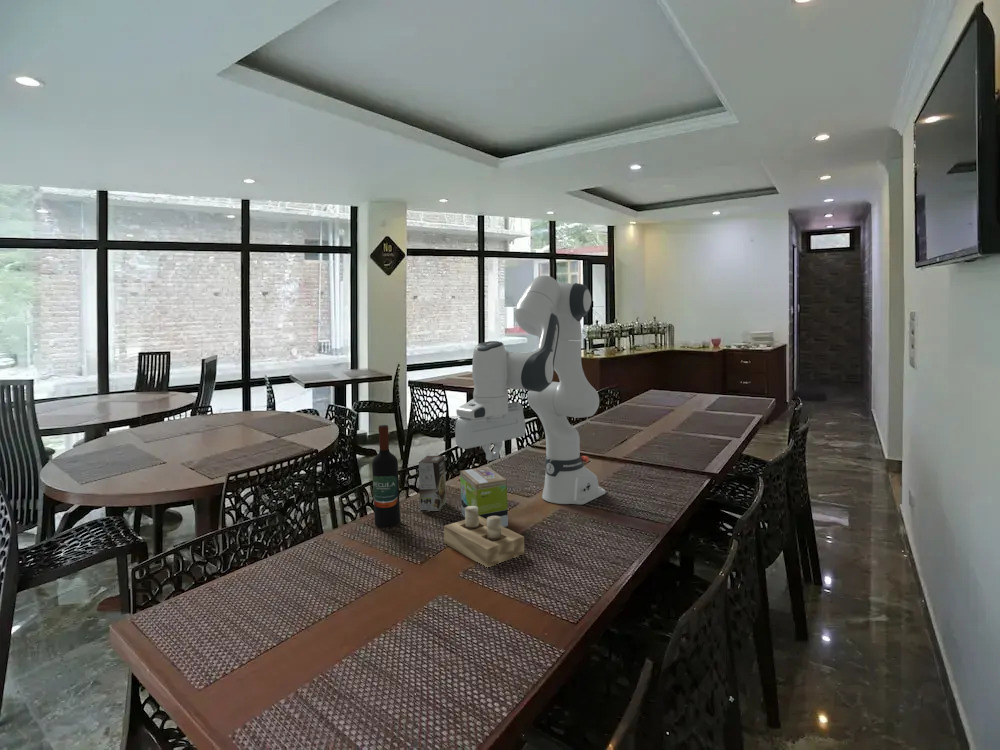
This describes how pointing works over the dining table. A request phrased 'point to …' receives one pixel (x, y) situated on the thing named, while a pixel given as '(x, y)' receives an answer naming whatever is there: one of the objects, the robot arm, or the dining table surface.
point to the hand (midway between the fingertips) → (492, 459)
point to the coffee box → (432, 483)
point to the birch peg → (494, 528)
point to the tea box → (484, 493)
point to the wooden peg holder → (482, 540)
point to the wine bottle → (385, 484)
